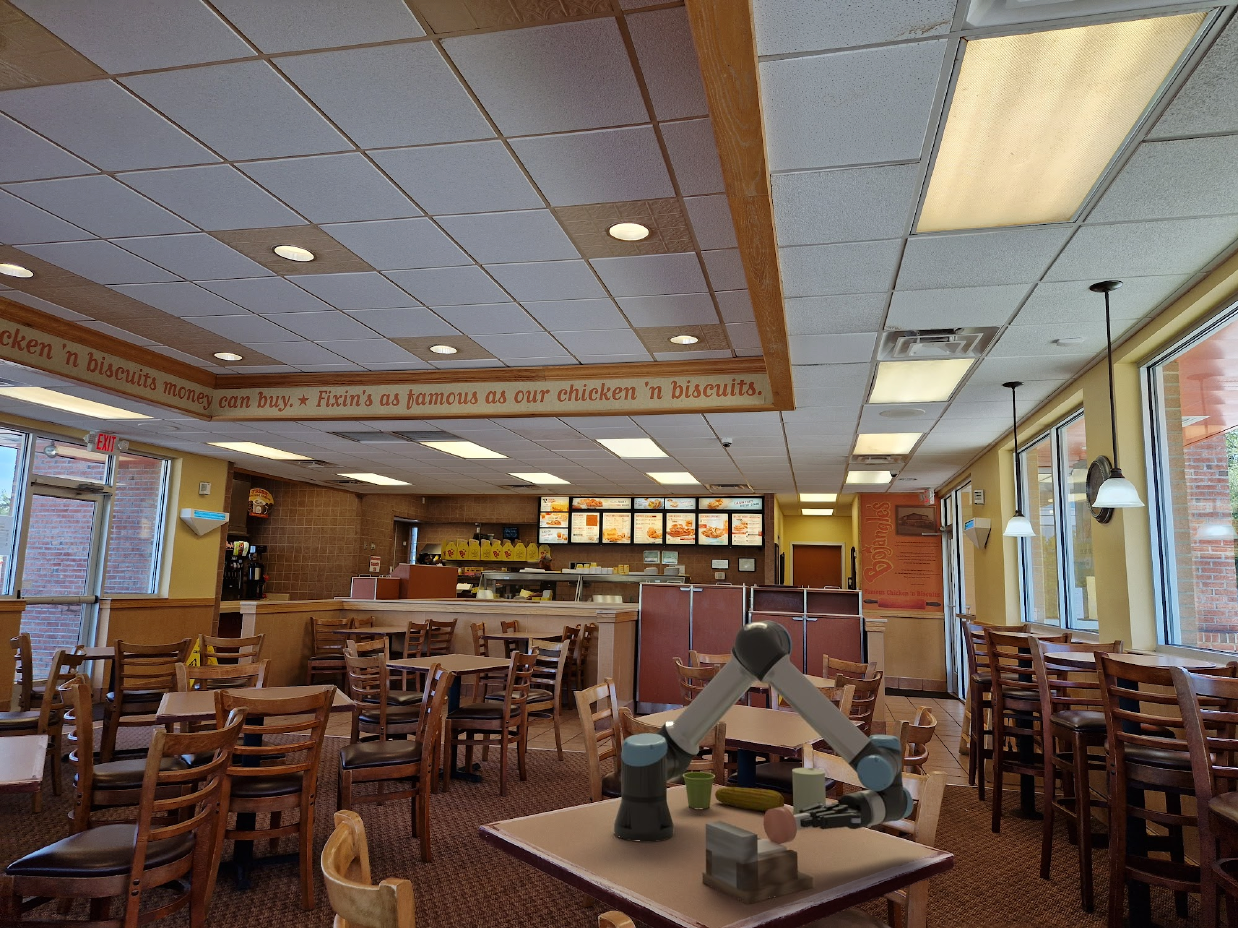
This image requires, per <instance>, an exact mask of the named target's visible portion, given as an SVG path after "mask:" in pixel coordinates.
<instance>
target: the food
mask: <svg viewBox="0 0 1238 928" xmlns="http://www.w3.org/2000/svg"><path fill="white" fill-rule="evenodd" d="M714 796H715V798H716V800H717V801H718V802H719V803H722V804H725V805H728V806H730V805H731V807H735V806H737V807H736V808H739V807H740V808H741V809H744V808H745V810H750V811H751V810H753V811H757V812H758V811H759V812H765V813H766V812H767V811H768V810H769V809H773V808H778V807H785V798H784V796H782V794H781V793H779V792H778V791H776V790H771V789H763V788H761V789H759V788H753V787H752V788H749V787H739V786H738V787H737V786H725V787H720V788H718V789H717V790H716V791H715V793H714Z"/></svg>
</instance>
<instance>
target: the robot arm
mask: <svg viewBox="0 0 1238 928" xmlns="http://www.w3.org/2000/svg"><path fill="white" fill-rule="evenodd" d="M792 650H793V641H792V637H791V634H790V633H789V631H788V630H787V628H786V627H784V625H781V623H779V622H775V621H773V620H761V621H752V622H749V623H746V624H744V625H743V626H741V628H740V629H739V630H738V631H737V633H736V635H735V637H734V645H733V647H732V648H731V649H730V659H729V660H728V661H727V662H726V664H724V665H723V667H722V668H721V669H720V670H719V671H718V672H717V673H716V674H715V675H714V677H713V678H712V679H711V680H710V681H709V683H707V684H706V686H705V687H704V688H703V689H702V690H701V691H700V692H699V693H698V694H697V695H696V697H695V698H693V700H692V701H691V702H690V703H689V704H688V706H687V707H686V708H685V709H684V710H683V711H682V712H681V713H680V715H679V716H678V717H677V718H676V719H675V720H673V719H672V720H671V719H669V720H666V722H665V723H664V724H663V725H662V726H661V727H660V728H659V729H658V731H656V733H650V732H649V733H647V732H646V733H638V734H633V735H630V736H628V737H626V738H625V739H624V740H623V742H622V746H621V753H620V758H621V787H620V788H621V789H620V790H621V793H620V794H621V797H620V799H621V800H620V804H619V807H618V811H617V814H616V817H615V821H614V823H613V825H614V826H613V833H614V832H615V834H616V835H617V836H616V835H615V834H614V835H615V836H616V837H618V836H620V837H622V838H624V839H623V840H626V839H630V840H629V841H631V840H640V841H639V842H641V841H651V842H657V841H656V840H660V841H664V839H665V840H667V839H670V838H672V837H673V836H674V832H675V831H674V822H673V819H672V815H671V812H670V808H669V805H668V801H667V798H668V797H667V793H668V792H667V791H668V788H667V787H668V786H667V784H668V781H670V780H672V779H674V778H676V777H679V776H681V775H683V774H685V772H686V771H687V770H688V768H689V767H690V765H691V763H692V761H693V759H694V758H695V757H696V756H697V754H698V753H699V751H700V743H701V742H702V741H703V739H705V738H706V736H707V735H708V734H709V733H711V731H712V730H713V728H715V726H716V725H717V724H718V723H719V722H720V721H721V720H722V719H723V718H724V716H725V715H726V714H727V713H728V712H729V711H730V710H731V709H732V707H733V706H734V705H735V704H736V703H737V702H738V701H739V700H740V699H741V698H742V696H744V695H745V693H746V692H747V691H748V690H749V689H750V688H751V687H752V686H753V684H754V683H756V682H760V683H761V684H763V685H764V684H767V685H769V686H770V687H771V688H772V689H773V690H774V691H775V692H776V693H777V694H778V695H779V696H780V698H782V699H783V700H784V701H785V702H786V703H787V704H788V705H789V706H790V707H791V708H792V709H793V710H794V711H795V712H796V713H797V715H799V716H800V717H801V718H802V720H804V721H805V722H806V724H808V725H809V726H810V727H811V728H812V729H813V730H814V731H815V732H816V733H817V734H818V735H819V737H820V738H822V739H823V740H824V742H826V743H827V744H828V745H829V746H830V747H831V748H832V749H833V750H834V751H835V752H836V753H837V754H838V755H839V756H840V758H842V759H843V760H844V762H845V763H847V764H848V765H849V766H850V768H852V769H853V770H854V772H856V775H857V778H858V781H859V782H860V784H861V785H862V786H863V787H864V788H866V789H865V790H860V791H856V792H851V793H845V794H843V795H842V796H840V797H839V799H838V800H837V802H836V801H835V802H832V803H830V804H826V805H825V806H823V804H821V802H816V803H815V804H814V805H811V806H809V807H806V808H803V809H800V810H799V814H796V815H794V814H793V816H794V818H795V821H796V825H797V831H799V830H800V831H801V830H804V829H809V828H820V829H821V830H829V829H830V830H831V829H839V828H840V829H841V828H848V829H850V830H858V829H861V828H868V829H871V827H872V826H875V825H879V824H884V823H890V822H897V821H901V820H902V819H906V818H908V816H910V815H911V813H912V812H913V810H914V799H913V798H912V795H911V792H910V791H909V789H908V788H907V787H905V786H904V783H903V769H902V768H903V764H902V763H903V761H902V754H903V751H902V746H901V745H902V744H901V740H900V738H898V737H897V736H895V735H891V734H890V735H889V734H871V735H870V736H869V737H868V736H867V735H866V734H865V733H864V732H863V731H862V730H860V729H859V727H858V726H857V725H855V723H854V722H852V721H851V720H850V718H848V717H847V716H846V714H845V713H843V712H842V711H841V710H840V709H839V708H838V707H837V706H836V705H835V704H834V703H833V701H831V700H830V699H829V698H828V697H827V696H825V694H824V693H822V691H821V690H820V689H819V688H818V687H816V685H815V684H814V683H813V682H812V681H810V680H809V678H807V677H806V675H804V673H802V672H801V671H800V669H798V668H797V667H796V666H795V665H794V664H793V662H791V660H790V659H791V658H790V656H791V653H792ZM620 837H619V838H620ZM622 838H621V839H622Z"/></svg>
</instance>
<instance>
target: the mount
mask: <svg viewBox="0 0 1238 928" xmlns="http://www.w3.org/2000/svg"><path fill="white" fill-rule="evenodd" d="M760 839H762V838H761V837H758V834H757V833H754V832H752V831H749V830H747V829H744V828H741V827H739V826H736V825H732V824H730V823H727V822H726V821H722V820H717V821H716V820H715V821H711V822H706V823H705V871H703V872H702V873H701V875H702V882H701V883H703V884H704V883H705V885H706V884H707V885H706V886H708V885H709V886H708V887H711V886H712V887H711V888H713V889H715V888H716V889H715V890H717V889H718V890H717V891H719V890H720V891H719V892H721V891H722V892H721V893H723V892H724V893H723V894H725V893H726V894H725V895H727V894H728V895H727V896H729V895H730V896H729V897H731V896H732V897H731V898H733V897H735V898H736V900H738V899H739V900H738V901H740V902H742V901H743V902H742V903H744V902H745V903H744V904H746V905H750V904H749V903H751V904H753V903H752V902H755V903H757V902H756V901H758V902H762V901H765V900H764V899H766V900H768V899H767V898H769V897H774V896H778V897H780V896H784V895H789V894H793V893H796V892H800V891H803V890H808V889H812V888H814V886H813V885H814V883H813V880H814V879H813V876H812V875H809V874H806V873H804V872H801V871H798V870H799V869H798V865H799V864H798V863H799V862H798V851H795V850H793V849H787V850H786V851H781V852H776V853H772V854H767V855H763V856H758V840H760ZM792 892H793V893H792ZM735 898H734V899H735ZM774 898H775V897H774ZM761 900H762V901H761Z"/></svg>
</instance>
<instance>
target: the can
mask: <svg viewBox="0 0 1238 928" xmlns="http://www.w3.org/2000/svg"><path fill="white" fill-rule="evenodd" d="M791 772H792V773H791V774H792V794H793V795H792V799H793V802H792V803H793V804H792V805H793V807H792V809H793V810H792V814H793V815H796V814H799V810H800V809H803V808H806V807H809V806H811V805H814V804H815V803H816V802H821V804H823V806H825V805H827V802H826V801H827V800H826V796H827V795H826V771H825V770H823V769H819V768H814V767H796V768H792V770H791Z"/></svg>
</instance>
